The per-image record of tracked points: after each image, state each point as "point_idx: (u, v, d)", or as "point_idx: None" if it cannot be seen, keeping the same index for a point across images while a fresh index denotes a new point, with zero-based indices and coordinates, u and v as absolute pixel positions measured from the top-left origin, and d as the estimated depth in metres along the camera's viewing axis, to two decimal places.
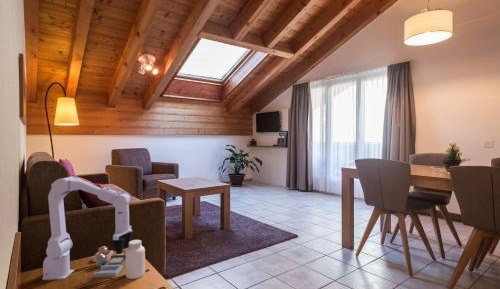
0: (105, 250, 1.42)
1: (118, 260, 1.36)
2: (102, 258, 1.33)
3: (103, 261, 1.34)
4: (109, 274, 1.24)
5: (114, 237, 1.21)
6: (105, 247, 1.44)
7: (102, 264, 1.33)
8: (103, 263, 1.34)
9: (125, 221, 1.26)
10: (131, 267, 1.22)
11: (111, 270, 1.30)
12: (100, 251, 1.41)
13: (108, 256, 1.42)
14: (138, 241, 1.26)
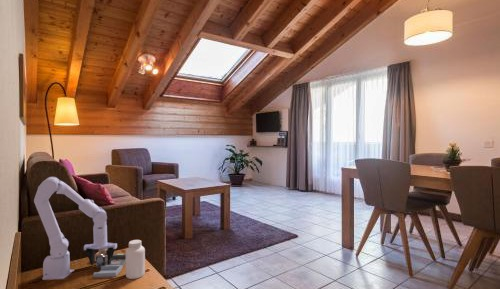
0: (105, 250, 1.42)
1: (118, 261, 1.36)
2: (102, 258, 1.33)
3: (103, 261, 1.34)
4: (109, 274, 1.24)
5: None
6: None
7: (102, 264, 1.33)
8: (103, 263, 1.34)
9: (94, 236, 1.32)
10: (131, 267, 1.22)
11: (111, 270, 1.30)
12: (100, 251, 1.41)
13: None
14: (138, 241, 1.26)
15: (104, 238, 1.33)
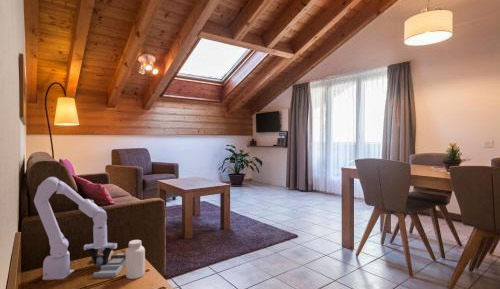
0: None
1: (118, 260, 1.36)
2: (102, 258, 1.33)
3: (103, 261, 1.34)
4: (109, 274, 1.24)
5: None
6: None
7: (102, 264, 1.33)
8: (103, 263, 1.34)
9: (94, 236, 1.32)
10: (131, 267, 1.22)
11: (111, 270, 1.30)
12: (100, 251, 1.41)
13: None
14: (138, 241, 1.26)
15: (104, 238, 1.33)
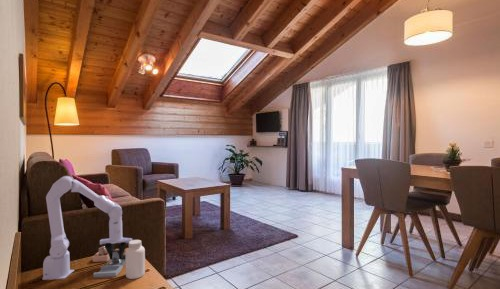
0: (105, 250, 1.42)
1: None
2: (118, 253, 1.35)
3: (119, 256, 1.36)
4: (109, 274, 1.24)
5: None
6: None
7: (118, 259, 1.35)
8: (119, 258, 1.36)
9: (110, 231, 1.34)
10: (131, 267, 1.22)
11: (111, 270, 1.30)
12: (100, 251, 1.41)
13: (108, 256, 1.42)
14: (138, 241, 1.26)
15: (120, 233, 1.35)
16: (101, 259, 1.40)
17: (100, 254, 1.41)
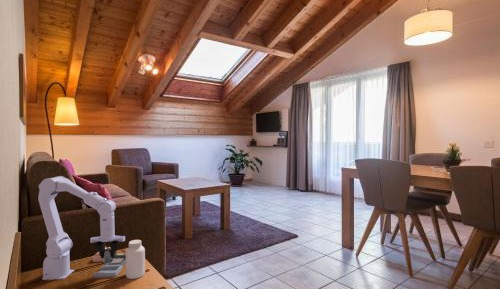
0: None
1: (118, 260, 1.36)
2: (110, 252, 1.27)
3: (111, 255, 1.27)
4: (109, 274, 1.24)
5: None
6: (105, 247, 1.44)
7: (110, 258, 1.27)
8: (111, 257, 1.27)
9: (101, 229, 1.25)
10: (131, 267, 1.22)
11: (111, 270, 1.30)
12: None
13: None
14: (138, 241, 1.26)
15: (111, 230, 1.27)
16: (101, 259, 1.40)
17: None
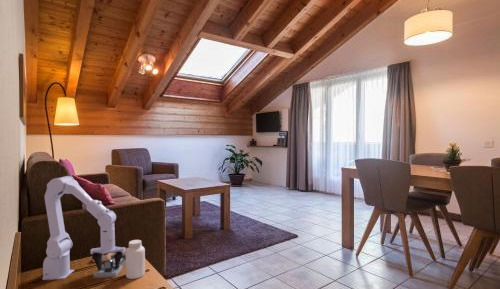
0: None
1: None
2: (110, 263, 1.27)
3: (111, 266, 1.27)
4: (109, 274, 1.24)
5: None
6: None
7: (110, 269, 1.27)
8: (111, 268, 1.27)
9: (101, 240, 1.25)
10: (131, 267, 1.22)
11: None
12: None
13: (108, 256, 1.42)
14: (138, 241, 1.26)
15: (112, 242, 1.27)
16: None
17: None
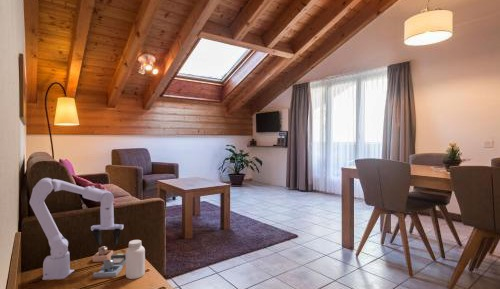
0: (105, 250, 1.42)
1: (118, 260, 1.36)
2: (110, 263, 1.27)
3: (111, 266, 1.27)
4: (109, 274, 1.24)
5: None
6: (105, 247, 1.44)
7: (110, 269, 1.27)
8: (111, 268, 1.27)
9: (101, 217, 1.34)
10: (131, 267, 1.22)
11: None
12: (100, 251, 1.41)
13: (108, 256, 1.42)
14: (138, 241, 1.26)
15: (111, 219, 1.35)
16: (101, 259, 1.40)
17: (100, 254, 1.41)
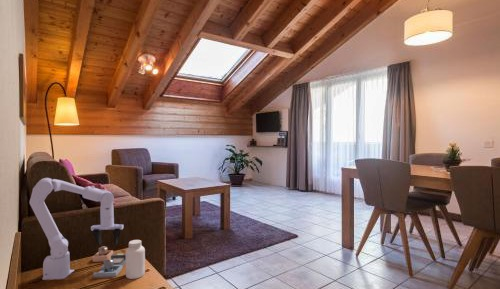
0: (105, 250, 1.42)
1: (118, 260, 1.36)
2: (110, 263, 1.27)
3: (111, 266, 1.27)
4: (109, 274, 1.24)
5: None
6: (105, 247, 1.44)
7: (110, 269, 1.27)
8: (111, 268, 1.27)
9: (101, 217, 1.34)
10: (131, 267, 1.22)
11: None
12: (100, 251, 1.41)
13: (108, 256, 1.42)
14: (138, 241, 1.26)
15: (111, 219, 1.35)
16: (101, 259, 1.40)
17: (100, 254, 1.41)
